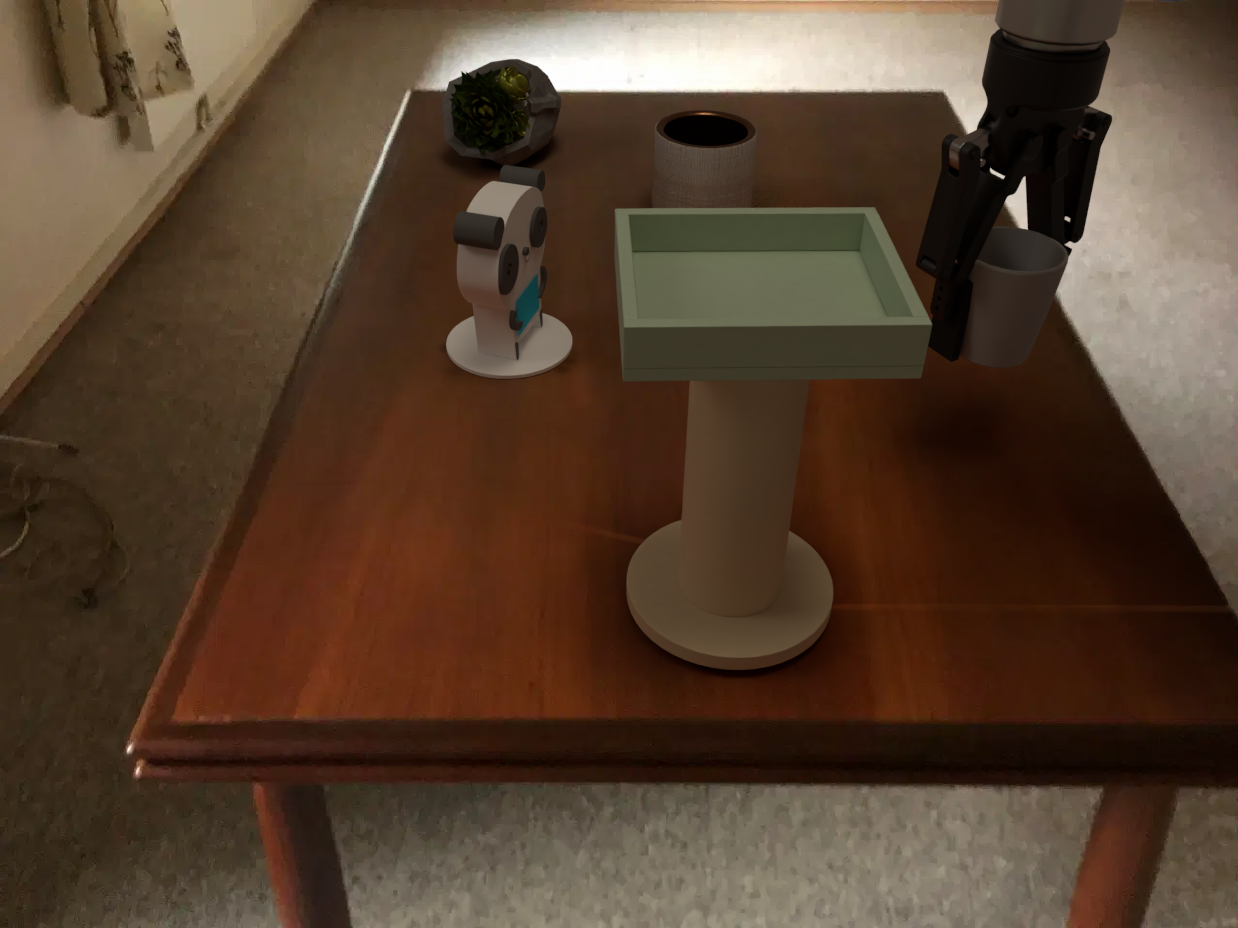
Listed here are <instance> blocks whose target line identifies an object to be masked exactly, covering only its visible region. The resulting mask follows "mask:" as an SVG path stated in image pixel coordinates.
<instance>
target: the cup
mask: <svg viewBox="0 0 1238 928" xmlns="http://www.w3.org/2000/svg"><path fill="white" fill-rule="evenodd" d="M1069 257H1070V256H1068V254H1067V251H1066V249H1065V248H1064V247H1063V246H1062V245H1061V244H1060V243H1059V242H1057V241H1056V240H1054V239H1052V238H1050V237H1048V236H1046V235H1043V234H1041V233H1038V232H1034V231H1031V230H1028V228H1021V227H1015V226H1003V225H1002V226H1001V225H997V226H993V227H992V229H991V232H990V234H989V236H988V238H987V240H986V242H985V244H984V246H983V248H982V250H981V252H980V254H979V256H978V258H977V260H976V261H975V264H974V267H973V269H972V271H971V273H970V275H969V277H968V280H970V281H971V282H973V290H972V297H971V304H970V311H969V315H968V320H967V324H966V329H965V333H964V338H963V342H962V346H961V351H960V355H959V356H960V357H962V358H963V359H964V360H966V361H968V362H970V363H972V364H974V365H977V366H981V367H986V368H989V369H990V368H991V369H1005V368H1007V369H1008V368H1012V367H1017V366H1019V365H1021V364H1023V363H1025V362H1026V361H1027V359H1028V358H1029V357H1030V354H1031V353H1032V350H1033V347H1034V345H1035V343H1036V341H1037V339H1038V336H1039V335H1040V333H1041V329H1042V327H1043V326H1044V323H1045V320H1046V319H1047V316H1048V314H1049V311H1050V309H1051V306H1052V303H1053V301H1054V298H1055V297H1056V293H1057V291H1058V289H1059V286H1060V283H1061V282H1062V281H1061V280H1062V278H1063V276H1064V273H1065V271H1066V268H1067V265H1068V263H1069V259H1070V258H1069Z"/></svg>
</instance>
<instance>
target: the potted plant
mask: <svg viewBox="0 0 1238 928" xmlns="http://www.w3.org/2000/svg"><path fill="white" fill-rule="evenodd" d="M460 73H461V75H460V76H459V77H456V78H454V79H452V80H450V81H448V83H447V87H446V90H445V94H444V97H443V100H442V104H441V112H442V120H443V121H442V122H443V130H444V140H445V142H446V143H447V145H449V146H450V147H451V148H453V150H454V151H456V153H457V154H458V155H460V156H461V157H468V158H474V159H475V158H476V159H485V160H490V161H492V162H494V163H495V164H498V165H500V166H502V167H503V166H504V165H510V166H515V165H517V164H519V163H521V162H522V161H524V160H526V159H528V158H529V157H531V156H532V155H534V154H535V153H537V152H538V151H540V150H542V149H543V148H545V146H547V145H548V144H549V142H550V140H551V139H552V137H553V136H554V134H555V131H556V126H557V123H558V120H559V116H560V112H561V108H562V97H561V96H560V95H559V93H558V91H557V90H556V87H555V86H554V84H553V82H552V81H551V79H550V77H549V75H548V74H547V73H546V72H544V70H542V68H540V67H539V66H538V65H536V64H533V63H530V62H527V61H525V60H522V59H519V58H509V59H508V58H507V59H502V60H495V61H490V62H488V63H486V64H484V65H481V66H480V67H477V68H476V69H473V70H470V71H469V72H467V71H465V72H464V71H462V70H461V71H460Z"/></svg>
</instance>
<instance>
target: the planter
mask: <svg viewBox="0 0 1238 928" xmlns="http://www.w3.org/2000/svg"><path fill="white" fill-rule="evenodd" d="M757 140H758V129H757V127H756V125H754V123H752V121H750V120H748V119H747V118H745V117H742V116H740V115H737V114H734V113H730V112H726V111H719V110H710V109H708V110H707V109H694V110H693V109H692V110H684V111H679V112H674V113H671V114H668V115H666V116H663V117H662V118H661V119H659V120H658V121H657V122H656V123H655V125H654V141H653V142H654V143H653V161H652V162H653V165H652V181H651V201H650V202H651V208H752V206H753V192H754V191H753V190H754V178H755V177H754V176H755V163H756V151H757Z"/></svg>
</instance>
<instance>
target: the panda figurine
mask: <svg viewBox="0 0 1238 928" xmlns="http://www.w3.org/2000/svg"><path fill="white" fill-rule="evenodd" d="M545 187H546V173H545V171H544V170H543V169H536V168H530V167H523V166H515V165H513V166H510V165H504V166H502V167H501V169H500V171H499V181H497V180H492V181H489V182H488V183H486V184H485V185H483V187H482V188H480V189H479V190H478V192H477V193H476V194H475V196H474V197H473V198H472V200H471V201H470V203H469V205H468V207H467V209H466V210H465V211H464V210H459V211H458V212H457V213H456V216H455V219H454V222H453V228H452V229H453V233H452V236H453V241H454V243H455V244H456V245H457V254H456V281H457V286H458V287H457V288H458V289H459V292H460V295H462V298H463V299H464V300H465V301H467V303H470V304H471V305H472V312H473V315H472V316H470V317H468V318H466V319H463V320H462V321H461V322H459V323H458V324H456V325H455V326H454V327H453V328H452V329H451V331H449V334H448V335H447V338H446V341H445V347H446V353H447V356H448V357H449V359H450V360H451V361H452V363H453V364H454V365H456V366H457V367H458V368H460V369H461V370H464V371H465V372H468V373H470V374H472V375H475V376H479V377H484V378H489V379H496V380H497V379H498V380H514V379H515V380H516V379H523V378H530V377H534V376H537V375H540V374H544V373H546V372H548V371H551V370H553V369H554V368H556V367H558V366H559V365H561V364H562V363H563V362H564V361H566V359H567V358H568V357H569V355H570V354H571V352H572V349H573V335H572V333H571V331H570V328H569V327H567V325H565V324H564V323H563V322H562V321H561V320H559V319H558V318H556V317H554V316H552V315H549V314H546V313H544V312H543V307H542V297H543V295H544V292H545V289H546V285H547V279H548V271H547V268H546V266H545V265H542V263H543V257H544V252H545V246H546V237H547V233H548V214H547V210H546V208H545V203H544V199H543V195H542V192H543V191H544V189H545Z"/></svg>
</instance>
